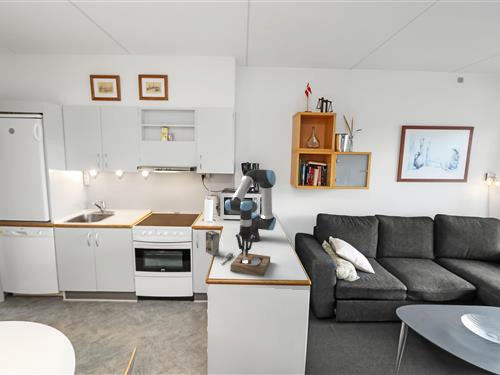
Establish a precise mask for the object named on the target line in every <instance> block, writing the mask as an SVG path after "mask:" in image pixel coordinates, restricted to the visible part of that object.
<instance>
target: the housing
mask: <svg viewBox="0 0 500 375" xmlns="http://www.w3.org/2000/svg"><path fill="white" fill-rule="evenodd" d="M248 254H252V257H257V258H259V259H260V260H261V264H260V266H253V265H247V264H242V259H243V255H242V251H240V252H239V254H238V255H237V256H236V258H235V259H234V260H233V261H232V262H231V263H230V272H234V273H240V274H247V275H252V276H258V277H264V276H265V275H266V272H267V269H268V268H269V267H270V266H269V265H270V264H271V256H269V255H264V254H263V255H262V254H255V253H249V252H248ZM246 257H248V255H246Z"/></svg>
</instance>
